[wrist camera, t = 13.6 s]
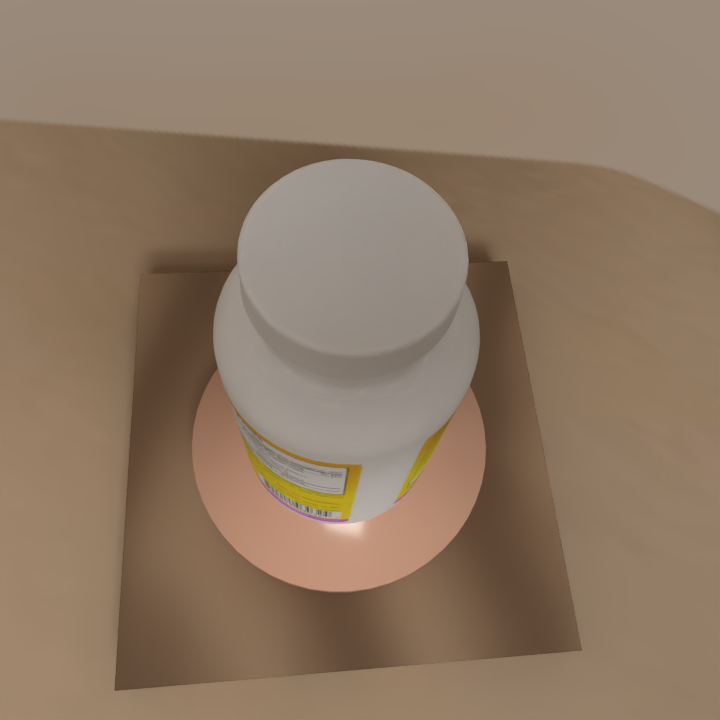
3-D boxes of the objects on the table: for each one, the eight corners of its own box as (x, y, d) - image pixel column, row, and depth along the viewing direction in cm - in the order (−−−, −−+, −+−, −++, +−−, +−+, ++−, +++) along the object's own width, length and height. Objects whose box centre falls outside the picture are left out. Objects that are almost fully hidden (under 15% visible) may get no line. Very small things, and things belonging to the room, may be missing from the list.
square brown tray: (498, 278, 31) (506, 261, 30) (567, 650, 25) (581, 650, 24) (148, 291, 30) (140, 274, 29) (126, 688, 24) (114, 690, 22)
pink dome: (459, 313, 29) (464, 301, 28) (501, 581, 24) (507, 578, 23) (199, 323, 28) (195, 312, 27) (193, 604, 23) (187, 602, 22)
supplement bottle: (394, 340, 27) (457, 95, 15) (450, 498, 24) (576, 354, 13) (229, 380, 26) (159, 151, 14) (271, 551, 23) (226, 446, 12)
